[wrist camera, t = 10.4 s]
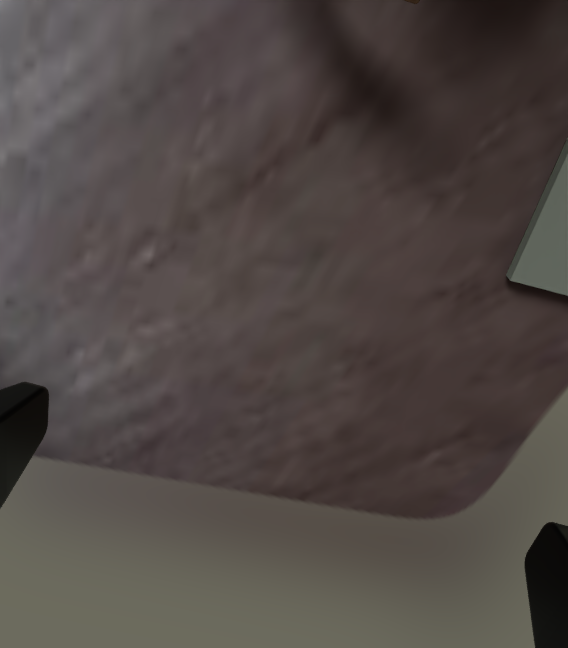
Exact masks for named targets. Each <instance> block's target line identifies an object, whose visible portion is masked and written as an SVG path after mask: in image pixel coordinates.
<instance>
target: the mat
mask: <svg viewBox="0 0 568 648" xmlns="http://www.w3.org/2000/svg"><path fill="white" fill-rule="evenodd" d="M506 276H507V277H508V278H509V280H510V281H514V282H518V283H521V284H525V285H529V286H533V287H537V288H541V289H544V290H548V291H552V292H556V293H560V294H563V295H567V296H568V138H567V140H566V143H565V145H564V147H563V149H562V151H561V154H560V156H559V158H558V160H557V163H556V165H555V167H554V169H553V172H552V174H551V176H550V178H549V181H548V183H547V185H546V187H545V189H544V192H543V194H542V196H541V198H540V201H539V203H538V205H537V207H536V210H535V212H534V214H533V216H532V218H531V221H530V223H529V225H528V227H527V230H526V232H525V234H524V236H523V239H522V241H521V243H520V245H519V248H518V250H517V252H516V254H515V256H514V259H513V261H512V263H511V265H510V268H509V270H508V272H507V274H506Z"/></svg>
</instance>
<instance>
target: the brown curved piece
mask: <svg viewBox="0 0 568 648" xmlns="http://www.w3.org/2000/svg"><path fill="white" fill-rule="evenodd" d="M405 1H408V2H411V3H414V4H417V3H418V2H419V1H420V0H405Z"/></svg>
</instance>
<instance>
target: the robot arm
mask: <svg viewBox="0 0 568 648" xmlns="http://www.w3.org/2000/svg"><path fill="white" fill-rule="evenodd" d="M48 406H49V392H48V390H47V389H46V388H45V387H44V386H40V385H36V384H32V383H29V382H22V383H18V384H16V385H13V386H10V387H7V388H4V389H1V390H0V508H1V507H2V505H3V504H4V502H5V501H6V499H7V497H8V496H9V494H10V492H11V491H12V489H13V487H14V486H15V484H16V482H17V481H18V479H19V478H20V476H21V474H22V473H23V471H24V469H25V468H26V466H27V464H28V463H29V461H30V459H31V458H32V456H33V454H34V453H35V451H36V449H37V448H38V446H39V444H40V443H41V441H42V439H43V438H44V435H45V433H46V430H47V426H48ZM525 573H526V582H527V590H528V597H529V605H530V613H531V620H532V628H533V636H534V643H535V648H568V526H565V525H561V524H558V523H554V522H549V523H547V524H545V525H544V527H543V528H542V529H541V531H540V533H539V534H538V536H537V538H536V539H535V541H534V542H533V544H532V545H531V547H530V549H529V550H528V552H527V554H526V557H525Z"/></svg>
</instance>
